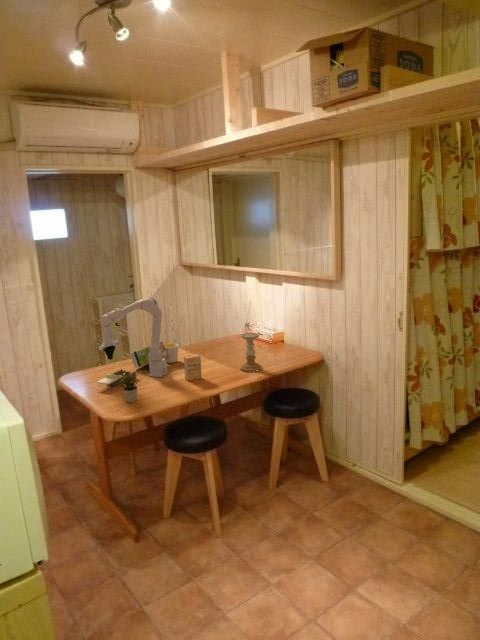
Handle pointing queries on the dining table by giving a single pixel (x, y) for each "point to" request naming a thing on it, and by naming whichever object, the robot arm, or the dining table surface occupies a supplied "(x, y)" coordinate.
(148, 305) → the robot arm
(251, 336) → the candle holder
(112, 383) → the walnut box
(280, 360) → the dining table surface
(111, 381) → the cover plate
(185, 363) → the supplement box
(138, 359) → the tea box
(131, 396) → the house plant
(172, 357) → the mug
